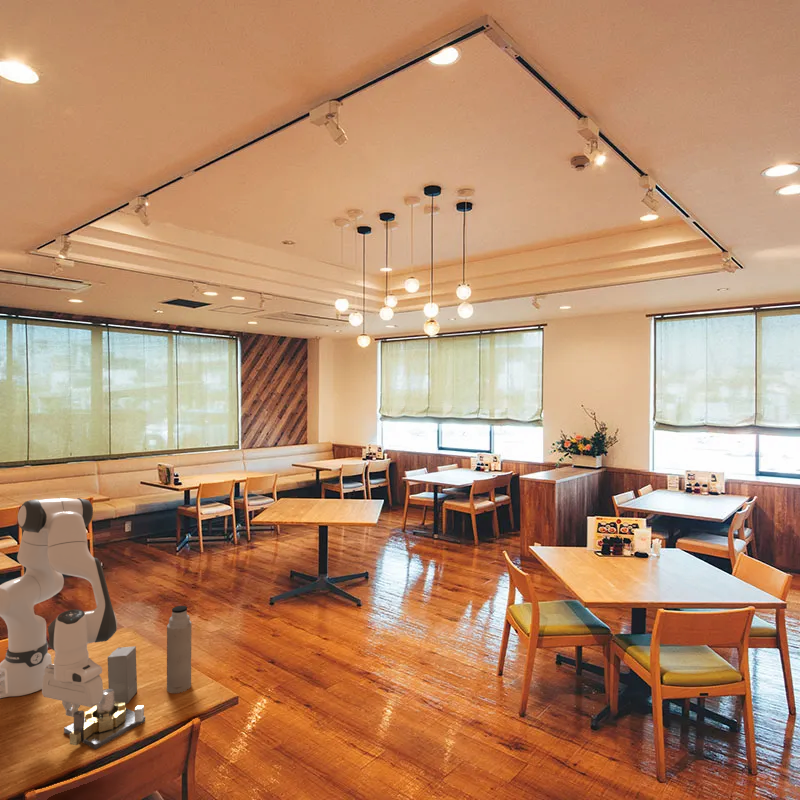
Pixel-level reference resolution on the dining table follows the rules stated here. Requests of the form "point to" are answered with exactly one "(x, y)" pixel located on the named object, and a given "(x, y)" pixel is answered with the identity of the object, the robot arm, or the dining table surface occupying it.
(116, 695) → the skincare box
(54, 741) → the dining table surface
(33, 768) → the dining table surface
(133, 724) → the grey peg base
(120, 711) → the tan ring with handle
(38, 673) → the robot arm
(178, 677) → the thermos bottle
